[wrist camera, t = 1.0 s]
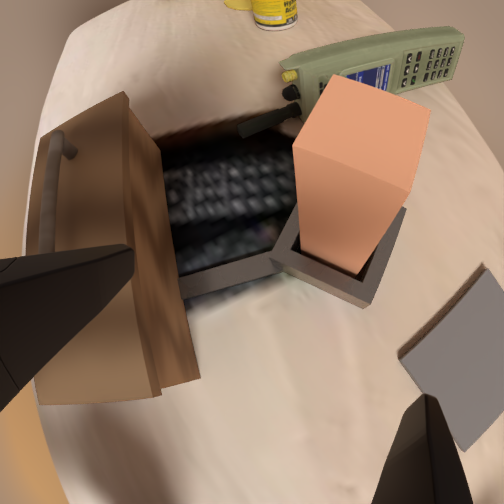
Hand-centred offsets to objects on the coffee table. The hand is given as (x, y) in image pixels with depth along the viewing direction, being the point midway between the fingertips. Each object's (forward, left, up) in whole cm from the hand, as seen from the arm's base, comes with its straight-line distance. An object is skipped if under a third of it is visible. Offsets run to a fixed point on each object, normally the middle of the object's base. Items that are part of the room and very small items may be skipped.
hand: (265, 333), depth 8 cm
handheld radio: (+22, -4, -14) cm, 27 cm away
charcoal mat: (-1, -15, -13) cm, 20 cm away
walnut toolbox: (+4, +13, -13) cm, 19 cm away
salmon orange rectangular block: (+7, -2, -13) cm, 15 cm away
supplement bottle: (+36, +6, -13) cm, 39 cm away
